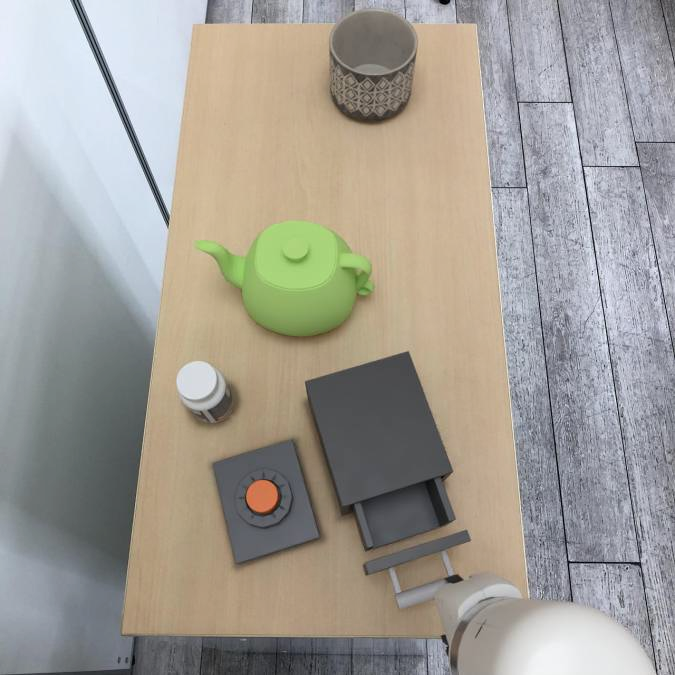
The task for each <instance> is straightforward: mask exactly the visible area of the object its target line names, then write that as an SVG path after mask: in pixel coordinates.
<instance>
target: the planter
mask: <svg viewBox="0 0 675 675" xmlns="http://www.w3.org/2000/svg"><path fill="white" fill-rule="evenodd" d="M416 31H417V30H416V29H415V27H414V26H413V25H412V23H411V22H410V21H409V20H408V19H406V18H405V17H404V16H403V15H401V14H399V13H397V12H394V11H393V10H389V9H385V8H378V7H368V8H361V9H357V10H354V11H351V12H349V13H346V14H345V15H344V16H342V17H341V18H340V19H339V20H338V21H336V23H335V24H334V26H332V28H331V31H330V33H329V37H328V51H329V89H330V90H329V92H330V96H331V99H332V101H333V102H334V105H336V107H337V108H338V109H339V110H340V111H341V112H343V114H345V115H347V116H349V117H351V118H353V119H357V120H360V121H366V122H376V121H382V120H386V119H389V118H392V117H393V116H396V115H398V114H399V113H400V112H401V111H402V110H403V109H404V108H405V107H406V106H407V105H408V102H409V100H410V98H411V95H412V88H413V82H414V75H415V68H416V60H417V55H418V46H419V38H418V33H417V32H416Z"/></svg>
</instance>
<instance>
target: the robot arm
mask: <svg viewBox="0 0 675 675" xmlns="http://www.w3.org/2000/svg"><path fill="white" fill-rule="evenodd" d="M446 577H447V578H445V577H443V578H444V583H445V585H443V586H440V587H438V589H437V590H436V593H435V598H434V601H435V604H436V608H437V611H438V615H439V618H440V621H441V625H442V628H443V632H444V634H441V635H440V639H441V641H442V643H443V644H444V645H446V646H445V653H446V656H447V657H448V658H447V659H448V670H449V674H450V675H657V672H656V670H655V667H654V665H653V663H652V660H651V659H650V657H649V656H648V654H647V652H646V651H645V649H644V646H642V644H641V643H640V642H639V641H638V639H637V637H636V636H634V635H633V633H632V632H631V631H629V630H628V629H627V627H625V626H624V625H623V624H622V623H621V622H619V621H618V620H616V619H615V618H614V617H612V615H610V614H607V613H606V612H604V611H602V610H600V609H598V608H595V607H593V606H590V605H587V604H585V603H584V604H583V603H579V602H574V601H568V600H553V599H541V598H540V599H539V598H525V597H524V595H523V594H522V593H521V590H520V589H519V588H518V587H517V586H516V585H515V583H513V582H512V581H510V579H508V578H507V577H505V576H503V575H501V574H498V573H495V572H492V571H491V572H490V571H481V572H477V573H473V574H470V575H468V578H466V579H464V578H463V577H462V576H461V575H460V574H458V573H456V575H453V576H450V577H448V576H446Z"/></svg>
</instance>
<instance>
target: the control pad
mask: <svg viewBox="0 0 675 675" xmlns="http://www.w3.org/2000/svg"><path fill="white" fill-rule="evenodd" d="M295 446H296V445H295V443H294V440H293V438H292V439H288V440H285V441H281V442H277V443H275V444H271V445H268V446H265V447H262V448H261V447H260V448H259V449H255V450H252V451H248V452H244V453H242V454H239V455H235V456H232V457H228V458H225V459H221V460H218V461H216V462H215V461H214V462H212V467H213V471H214V475H215V476H214V477H215V480H216V484H217V489H218V493H219V497H220V502H221V506H222V510H223V514H224V515H223V516H224V519H225V523H226V527H227V532H228V536H229V540H230V545H231V548H232V552H233V553H232V554H233V557H234V558H233V559H234V562H235V564H236V565H242V564H245V563H249V562H251V561H254V560H258V559H262V558H264V557H268V556H270V555H274V554H277V553H280V552H284V551H286V550H290V549H292V548H293V549H294V548H295V547H296V548H297V547H299V546H302V545H304V544H308V543H311V542H314V541H317V540H320V539H321V535H320V532H319V527H318V524H317V521H316V517H315V514H314V511H313V507H312V503H311V500H310V496H309V493H308V489H307V485H306V482H305V479H304V474H303V471H302V468H301V465H300V461H299V457H298V453H297V450H296V447H295ZM258 480H267V481H270V482H271V483H273V484H274V485H275V487H276V488H277V490H278V493H279V502H278V504H277V506H276V508H275V509H274V510H272V511H271V512H269V513H266V514H260V513H257V512H255V511H254V510H253V509H251V508H250V507H249V505H248V503H247V500H246V493H247V490H248V488H249V487H250V485H251V484H252V483H254V482H256V481H258Z"/></svg>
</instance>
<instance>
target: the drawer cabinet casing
mask: <svg viewBox="0 0 675 675" xmlns="http://www.w3.org/2000/svg"><path fill="white" fill-rule="evenodd" d="M304 386H305V392H306V397H307V403H308V406H309V410H310V413H311V416H312V420H313V423H314V427H315V430H316V434H317V436H318V440H319V442H320V447H321V450H322V453H323V457H324V460H325V464H326V467H327V470H328V473H329V477H330V480H331V484H332V487H333V491H334V493H335V497H336V500H337V504H338V507H339V511H340V514H341V516H342V517H345V516H347V515H350V514H353V511H352V508H351V505H353V504H356V503H359V502H362V501H365V500H368V499H372V498H375V497H378V496H381V495H384V494H387V493H391V492H394V491H397V490H400V489H403V488H406V487H410V486H413V485H416V484H419V483H422V482H425V481H429V480H432V479H435V478H438V477H441V479H442V482H443V483H444V482H445V481H446V480H447V479H448V478H449V477H450V476H451V475H452V474H453V473H454V469H453V466H452V464H451V461H450V458H449V456H448V453H447V451H446V450H447V449H446V447H445V445H444V442H443V440H442V439H443V438H442V436H441V435H440V430H439V428H438V425H437V423H436V420H435V418H434V415H433V413H432V410H431V407H430V405H429V402H428V399H427V396H426V394H425V391H424V388H423V386H422V383H421V380H420V377H419V375H418V372H417V369H416V367H415V365H414V362H413V359H412V355H411V353H410V351H409V350H407V351H404V352H400V353H397V354H393V355H390V356H387V357H383V358H380V359H375V360H373V361H369V362H366V363H363V364H360V365H355V366H352V367H349V368H345V369H342V370H338V371H335V372H331V373H328V374H325V375H321V376H318V377H315V378H314V377H313V378H312V379H311V378H310V379H308V380H305V381H304Z"/></svg>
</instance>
